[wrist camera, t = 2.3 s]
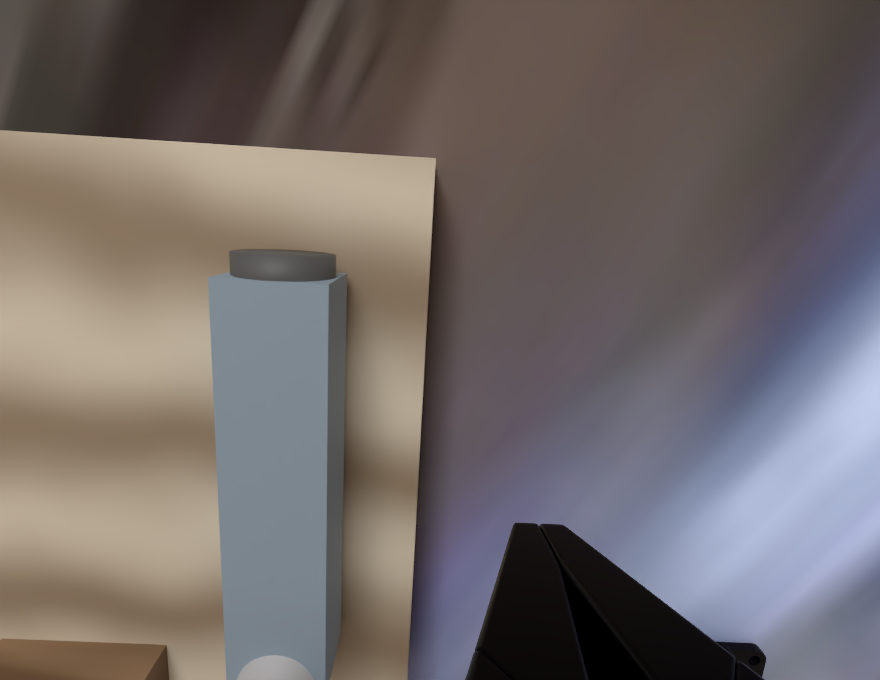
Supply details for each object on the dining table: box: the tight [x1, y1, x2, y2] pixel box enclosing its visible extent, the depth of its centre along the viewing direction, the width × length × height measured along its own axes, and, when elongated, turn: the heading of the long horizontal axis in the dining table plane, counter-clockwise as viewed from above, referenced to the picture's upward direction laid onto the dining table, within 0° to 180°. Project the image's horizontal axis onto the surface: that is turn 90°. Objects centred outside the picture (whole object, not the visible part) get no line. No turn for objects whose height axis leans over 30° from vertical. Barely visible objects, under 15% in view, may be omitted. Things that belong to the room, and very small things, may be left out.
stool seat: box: [0, 130, 436, 680], centre depth 18 cm, size 20×20×2 cm
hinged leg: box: [208, 249, 347, 680], centre depth 15 cm, size 14×3×4 cm, turn 177°
